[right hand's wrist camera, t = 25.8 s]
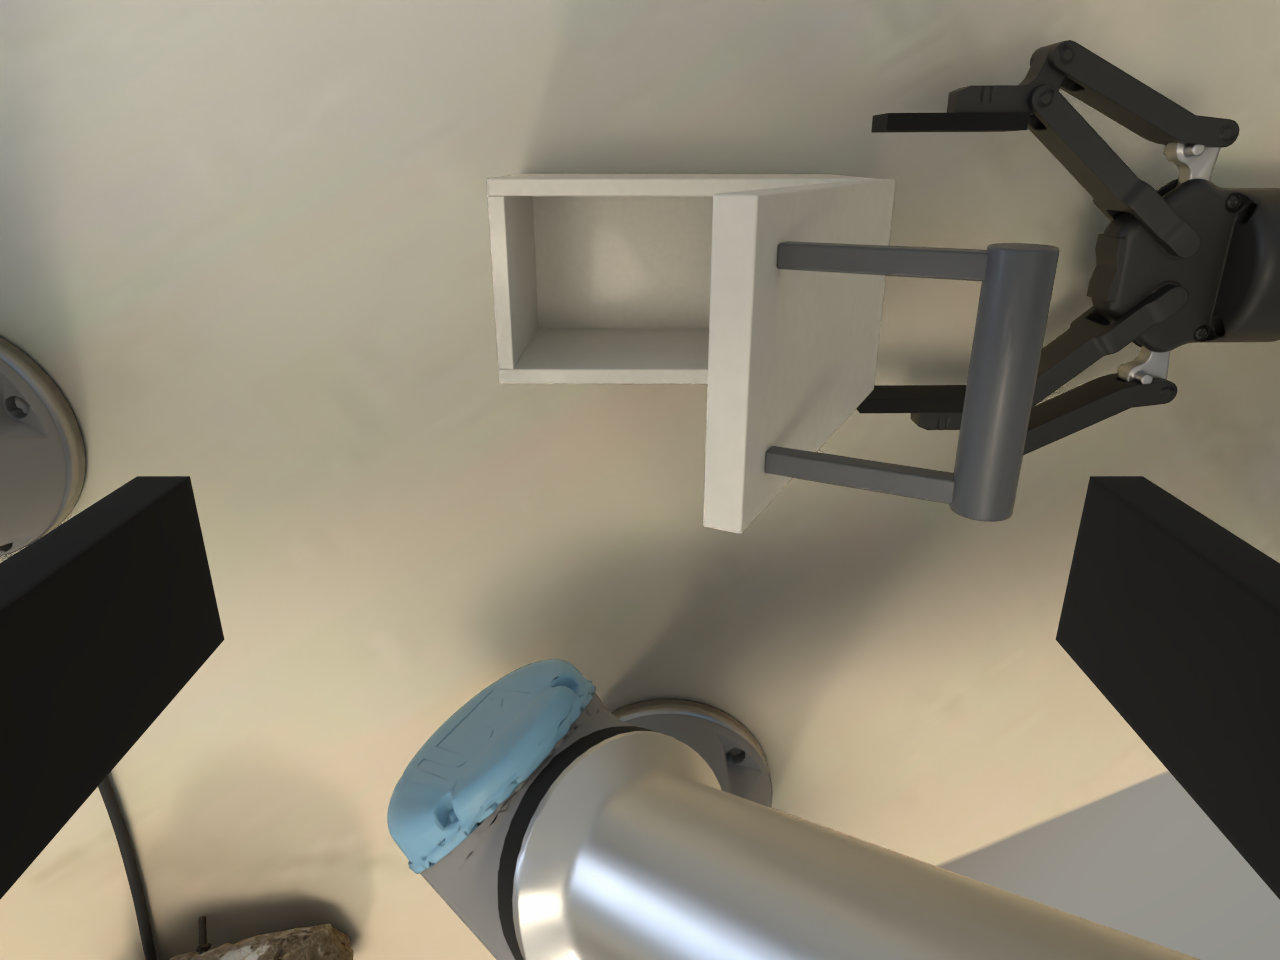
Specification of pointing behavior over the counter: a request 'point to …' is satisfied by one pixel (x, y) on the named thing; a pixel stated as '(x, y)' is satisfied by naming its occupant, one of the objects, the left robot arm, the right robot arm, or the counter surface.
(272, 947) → the fossil
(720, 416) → the lid
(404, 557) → the counter surface
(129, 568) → the right robot arm
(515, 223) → the chest
